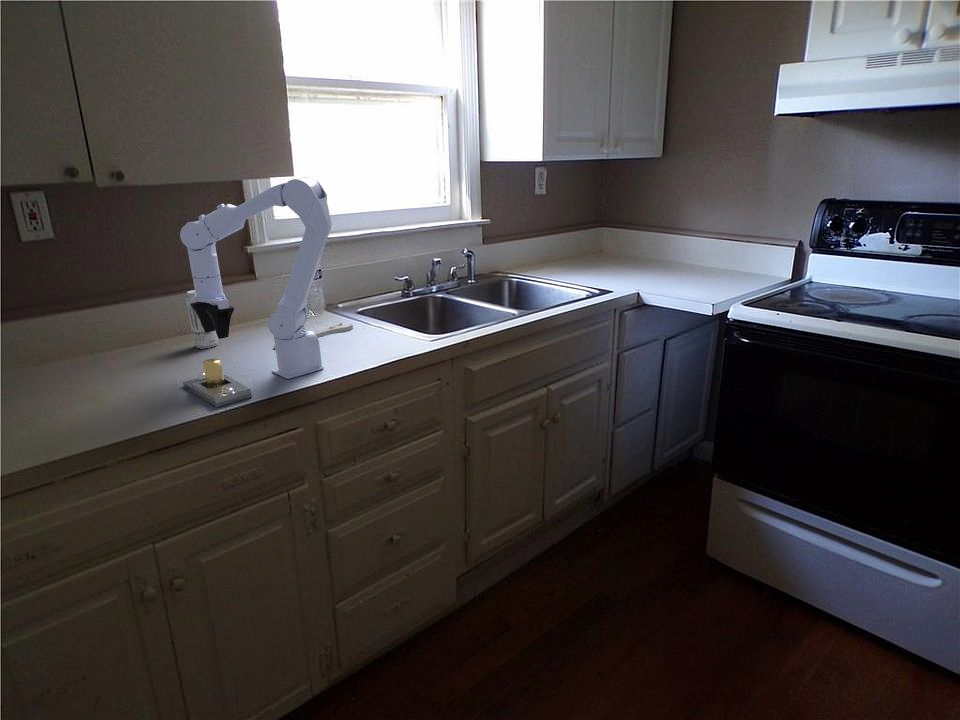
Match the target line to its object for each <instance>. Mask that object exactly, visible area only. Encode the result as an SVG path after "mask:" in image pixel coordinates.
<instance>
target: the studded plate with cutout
mask: <svg viewBox="0 0 960 720" xmlns="http://www.w3.org/2000/svg"><path fill="white" fill-rule="evenodd" d="M223 376H224V382H225V385H222V386H218V387H215V388H211V389H207V384H206V379H205V373H204V371H202V372H198V373H197V378H194V379H190V380H186V381H183V383H182V384H183V387H184V388H185V389H188V390H189V391H190V392H192V393H193V394H195V395H196V396H198V397H199V396H200V397H199V398H201V399H202V398H203V400H204V401H205V400H206V402H207V401H208V402H207V403H208V404H210V403H211V404H210V405H212V406H213V405H214V406H213V407H215V406H216V407H218V408H220V407H219V406H221V407H224V406H223V405H225V406H227V405H226V404H228V405H231V404H230V403H232V404H234V403H233V402H235V403H238V402H241V401H240V400H242V401H244V400H243V399H245V400H248V399H251V398H250V397H252V391H251V388H250V387H248V386H246V385H244V384H242V383H241V382H239V381H237V380H235V378H232V377H230V376H228V375H227V374H223ZM247 398H248V399H247ZM237 401H238V402H237ZM216 407H215V408H216Z"/></svg>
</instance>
